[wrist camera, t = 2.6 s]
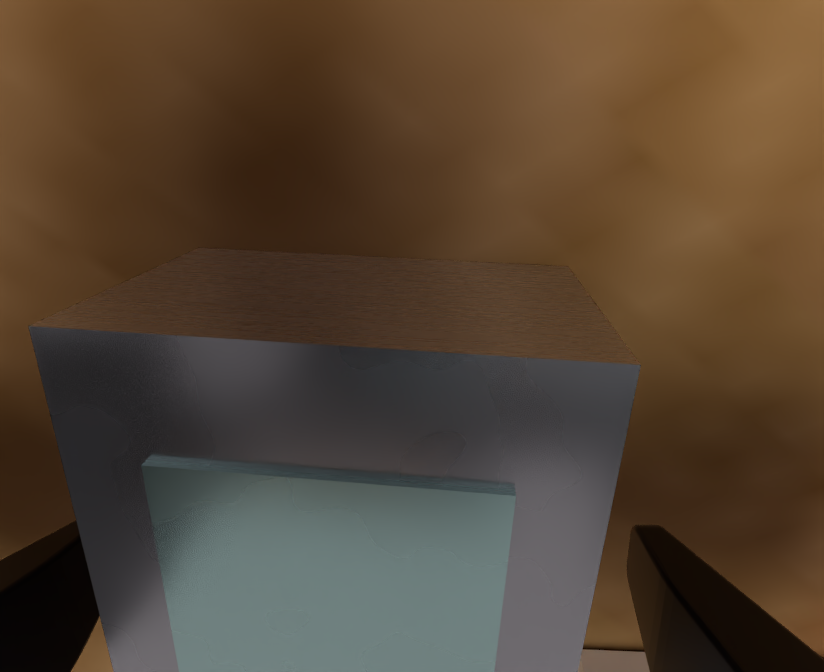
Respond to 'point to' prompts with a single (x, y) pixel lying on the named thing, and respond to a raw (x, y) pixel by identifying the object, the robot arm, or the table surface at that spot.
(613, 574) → the table surface
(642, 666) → the white peg stand
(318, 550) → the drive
